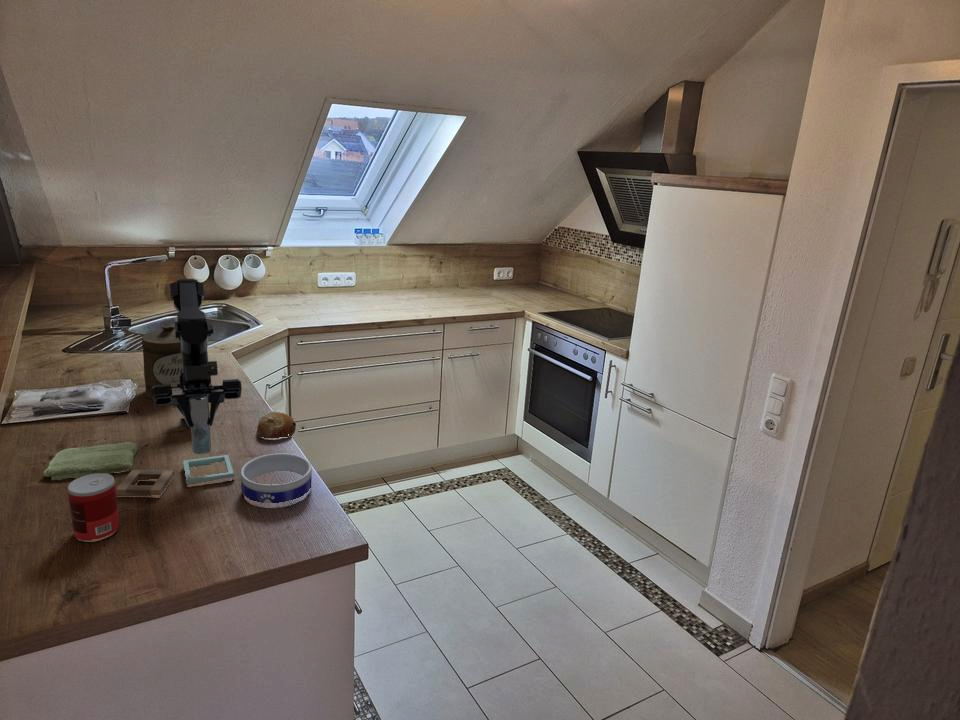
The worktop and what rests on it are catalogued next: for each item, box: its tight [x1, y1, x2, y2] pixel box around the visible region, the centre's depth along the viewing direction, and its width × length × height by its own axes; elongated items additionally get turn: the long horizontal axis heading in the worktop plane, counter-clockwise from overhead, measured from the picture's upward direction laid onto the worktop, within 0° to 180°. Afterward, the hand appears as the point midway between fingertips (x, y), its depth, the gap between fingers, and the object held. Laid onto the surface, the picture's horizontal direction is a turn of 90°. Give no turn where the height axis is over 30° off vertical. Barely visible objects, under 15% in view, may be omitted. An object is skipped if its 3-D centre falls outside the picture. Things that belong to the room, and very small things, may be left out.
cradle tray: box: [182, 454, 235, 485], centre depth 150 cm, size 10×10×2 cm
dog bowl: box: [240, 452, 313, 503], centre depth 145 cm, size 15×15×6 cm
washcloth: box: [43, 441, 138, 481], centre depth 151 cm, size 13×18×3 cm
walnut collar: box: [116, 469, 175, 496], centre depth 143 cm, size 9×9×2 cm
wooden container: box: [141, 322, 182, 400], centre depth 192 cm, size 15×15×22 cm
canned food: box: [67, 473, 121, 540], centre depth 125 cm, size 8×8×11 cm
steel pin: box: [189, 395, 212, 455], centre depth 146 cm, size 4×4×13 cm
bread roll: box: [256, 410, 297, 438], centre depth 174 cm, size 10×10×8 cm
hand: (200, 426), depth 145 cm, fingers closed on steel pin, 4 cm apart
